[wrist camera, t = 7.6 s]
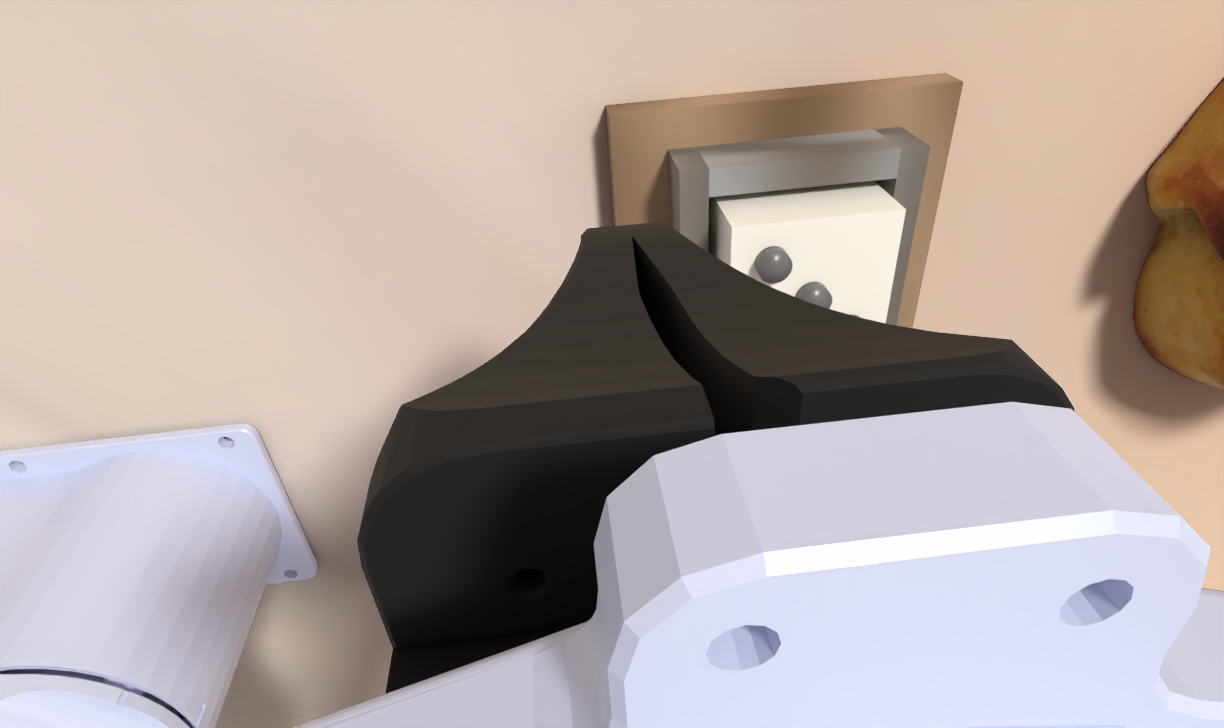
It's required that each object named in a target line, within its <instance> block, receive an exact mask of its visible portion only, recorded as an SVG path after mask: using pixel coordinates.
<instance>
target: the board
mask: <svg viewBox="0 0 1224 728" xmlns="http://www.w3.org/2000/svg"><path fill="white" fill-rule="evenodd" d="M962 85H963V81H961V80H959V79H957V78H955V77H952V76H950V75H948V74H946V73H944V74H934V75H923V76H913V77H902V78H891V79H881V80H870V81H860V82H849V83H839V84H828V85H817V86H807V87H796V88H786V89H775V90H764V91H754V92H743V93H733V94H722V95H712V96H701V97H690V98H680V99H669V100H659V101H648V102H638V103H627V104H616V105H606V121H607V136H608V151H609V166H610V181H611V196H612V211H613V226H621V225H632V224H643V223H653V222H663V223H665V224H667V225H669V226H670V227H672V228H673V229H675V230H676V231H678V232H679V233H680V234H682V235H683V236H685V237H686V238H688V239H689V240H691V241H692V242H694V243H695V244H696V245H698V246H699V247H701V248H702V249H704V250H705V251H707V252H708V227H709V197H718V196H728V195H737V194H747V193H757V192H767V191H777V190H787V189H796V188H806V187H816V186H826V185H836V184H845V183H855V182H865V181H875V182H876V183H877V184H878V185H879V186H880V187H881V188H883V189H884V190H885V191H886V192H887V193H888V194H889V195H891V196H892V197H893V198H894V199H895V200H896V201H897V202H898V203H900V204H901V205H902V206H903V207H904V208H905V209H906V213H905V219H904V224H903V230H902V235H901V241H900V246H899V252H898V257H897V263H896V268H895V274H894V279H893V285H892V290H891V296H890V301H889V307H888V312H887V318H886V324H891V325H897V326H902V327H908V328H912V327H913V322H914V317H915V312H916V308H917V303H918V298H919V293H920V288H921V283H922V279H923V274H924V269H925V264H926V259H927V254H928V250H929V245H930V240H931V235H932V230H933V225H934V221H935V216H936V211H937V206H938V201H939V196H940V192H941V187H942V182H943V177H944V172H945V167H946V163H947V158H948V153H949V148H950V143H951V139H952V134H953V129H954V124H955V119H956V114H957V110H958V105H959V100H960V95H961V90H962Z"/></svg>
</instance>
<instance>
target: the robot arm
mask: <svg viewBox="0 0 1224 728" xmlns="http://www.w3.org/2000/svg"><path fill="white" fill-rule="evenodd" d="M224 437H229V438H231V439H232V440H233V441H228V440H226V439H224ZM18 461H19V462H21V463H19V462H18ZM22 463H23V464H22ZM357 542H358V548H359V553H360V559H361V565H362V569H363V571H364V574H365V576H366V579H367V582H368V584H369V587H370V589H371V592H372V595H373V597H374V600H375V602H376V605H377V608H378V610H379V613H380V616H381V618H382V621H383V623H384V626H385V629H386V631H387V634H388V636H389V639H390V642H391V644H392V647H393V652H392V658H391V664H390V670H389V676H388V682H387V689H386V694H384V695H381V696H379V697H376V698H373V699H370V700H368V701H365V702H362V703H359V704H356V705H354V706H351V707H348V708H345V709H343V710H340V711H337V712H334V713H331V714H329V715H326V716H323V717H320V718H317V719H315V720H312V721H309V722H306V723H304V724H301V725H298V726H295V727H292V728H1224V591H1220V590H1213V589H1206V588H1202V584H1203V580H1204V576H1205V573H1206V569H1207V564H1208V559H1209V555H1210V550H1211V548H1210V547H1209V546H1208V545H1207V544H1206V543H1205V542H1204V541H1203V539H1202V538H1201V537H1200V536H1199V535H1198V534H1197V533H1196V532H1195V531H1194V530H1193V529H1192V528H1191V527H1190V526H1189V525H1188V524H1187V523H1186V521H1185V520H1184V519H1183V518H1182V517H1181V516H1180V515H1179V514H1178V513H1177V512H1176V511H1175V510H1174V509H1173V508H1172V507H1171V506H1170V505H1169V504H1168V503H1167V502H1166V501H1164V500H1163V499H1162V498H1161V497H1160V496H1159V495H1158V494H1157V493H1156V492H1155V491H1154V490H1153V489H1152V488H1151V487H1150V486H1149V485H1148V484H1147V483H1146V482H1145V481H1144V480H1143V479H1142V478H1141V477H1140V476H1139V475H1138V474H1137V473H1136V472H1135V471H1134V470H1133V469H1132V468H1131V467H1130V466H1129V465H1128V464H1127V463H1126V462H1125V461H1124V460H1123V459H1122V458H1121V457H1120V456H1119V455H1118V454H1117V453H1116V452H1115V451H1114V450H1113V449H1112V448H1111V447H1110V446H1108V445H1107V444H1106V443H1105V442H1104V441H1103V440H1102V439H1101V438H1100V437H1099V436H1098V435H1097V434H1096V433H1095V432H1094V431H1093V430H1092V429H1091V428H1090V427H1089V426H1088V425H1087V424H1086V423H1085V422H1084V421H1083V420H1082V419H1081V418H1080V417H1079V416H1078V415H1077V414H1076V413H1075V412H1074V407H1073V406H1072V404H1071V402H1070V401H1069V399H1068V397H1067V396H1066V394H1065V392H1064V391H1063V389H1062V388H1061V387H1060V386H1059V385H1058V384H1057V383H1056V382H1055V381H1054V380H1053V379H1052V378H1051V377H1050V376H1049V375H1048V374H1047V373H1046V372H1045V371H1044V370H1043V369H1042V368H1041V367H1039V366H1038V365H1037V364H1036V363H1035V362H1034V361H1033V360H1032V359H1031V358H1030V357H1029V356H1028V355H1027V354H1026V353H1025V352H1024V351H1023V350H1022V349H1021V348H1020V347H1019V346H1018V345H1017V344H1015V343H1014V342H1013V341H1012V340H1008V339H998V338H988V337H978V336H968V335H958V334H948V333H938V332H931V331H924V330H919V329H913V328H908V327H902V326H897V325H891V324H886V323H881V322H877V321H872V320H868V319H864V318H859V317H856V316H852V315H849V314H845V313H842V312H838V311H835V310H831V309H828V308H824V307H821V306H818V305H815V304H812V303H809V302H807V301H804V300H801V299H799V298H796V297H794V296H791V295H789V294H786V293H784V292H781V291H779V290H776V289H774V288H772V287H770V286H768V285H765V284H763V283H761V282H759V281H757V280H755V279H754V278H752V277H750V276H748V275H746V274H744V273H742V272H740V271H738V270H737V269H735V268H733V267H731V266H730V265H728V264H726V263H725V262H723V261H721V260H720V259H718V258H716V257H715V256H713V255H712V254H710V253H709V252H707V251H705V250H704V249H702V248H701V247H699V246H698V245H696V244H695V243H694V242H692V241H691V240H689V239H688V238H686V237H685V236H683V235H682V234H680V233H679V232H678V231H676V230H675V229H673V228H672V227H670V226H669V225H667V224H665V223H663V222H653V223H643V224H632V225H621V226H611V227H600V228H589V229H587V230H586V231H585V232H584V233H583V234H582V235H581V243H580V246H579V249H578V252H577V255H576V257H575V260H574V262H573V264H572V266H571V268H570V270H569V272H568V274H567V276H566V278H565V280H564V281H563V283H562V285H561V286H560V288H559V289H558V291H557V292H556V294H555V295H554V297H553V298H552V300H551V301H550V303H549V304H548V306H547V307H546V308H545V310H544V311H543V312H542V314H541V315H540V316H539V317H538V318H537V320H536V321H535V322H534V323H533V324H532V325H531V326H530V327H529V328H528V330H527V331H526V332H525V333H523V334H522V335H521V336H520V337H519V338H517V339H516V340H515V341H514V342H513V343H511V344H510V345H509V346H508V347H507V348H505V349H504V350H503V351H502V352H501V353H499V354H498V355H497V356H495V357H494V358H492V359H491V360H489V361H488V362H486V363H485V364H483V365H482V366H480V367H479V368H477V369H475V370H474V371H472V372H470V373H469V374H467V375H465V376H464V377H462V378H460V379H458V380H456V381H454V382H452V383H450V384H448V385H446V386H444V387H442V388H439V389H437V390H435V391H433V392H431V393H429V394H426V395H424V396H422V397H420V398H418V399H415V400H413V401H411V402H408V403H405V404H403V405H402V406H401V407H400V409H399V411H398V413H397V415H396V418H395V420H394V422H393V424H392V427H391V429H390V431H389V433H388V436H387V438H386V440H385V442H384V445H383V447H382V449H381V452H380V454H379V457H378V459H377V462H376V464H375V468H374V471H373V474H372V477H371V481H370V485H369V490H368V494H367V499H366V504H365V509H364V513H363V518H362V522H361V527H360V531H359V536H358V541H357ZM317 570H318V564H317V561H316V559H315V557H314V555H313V552H312V550H311V548H310V546H309V544H308V541H307V539H306V537H305V535H304V532H303V530H302V528H301V526H300V524H299V521H298V519H297V517H296V515H295V512H294V510H293V508H292V506H291V504H290V501H289V499H288V497H287V495H286V492H285V490H284V488H283V486H282V484H281V481H280V479H279V477H278V475H277V472H276V470H275V468H274V466H273V464H272V461H271V459H270V457H269V455H268V452H267V450H266V448H265V446H264V444H263V441H262V439H261V437H260V435H259V433H258V431H257V430H256V429H255V428H254V427H252V426H250V425H247V424H232V425H223V426H214V427H205V428H197V429H188V430H179V431H170V432H162V433H153V434H144V435H135V436H127V437H118V438H109V439H100V440H92V441H83V442H74V443H65V444H57V445H48V446H39V447H30V448H22V449H13V450H4V451H0V728H215V727H216V724H217V721H218V718H219V716H220V713H221V710H222V707H223V704H224V701H225V699H226V696H227V693H228V690H229V687H230V684H231V682H232V679H233V676H234V673H235V670H236V667H237V665H238V662H239V659H240V656H241V653H242V650H243V648H244V645H245V642H246V639H247V636H248V633H249V631H250V628H251V625H252V622H253V619H254V616H255V614H256V611H257V608H258V605H259V602H260V599H261V597H262V594H263V591H264V588H265V585H269V584H277V583H285V582H293V581H301V580H308V579H311V578H313V577H314V576H315V575H316V573H317Z"/></svg>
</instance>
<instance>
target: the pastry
mask: <svg viewBox="0 0 1224 728" xmlns="http://www.w3.org/2000/svg"><path fill="white" fill-rule="evenodd" d="M1146 188H1147V191H1148V199H1149V205H1150V207H1151V209H1152V212H1153V213H1154V214H1155V215H1157V217H1158V219H1159V231H1158V234H1157V236H1156V239H1155V241H1154V244H1153V247H1152V249H1151V251H1150V253H1149V255H1148V257H1147V260H1146V262H1145V264H1144V267H1143V269H1142V271H1141V274H1140V276H1139V279H1138V281H1137V287H1136V294H1135V302H1134V313H1133V317H1134V323H1135V329H1136V332H1137V334H1138V336H1139V338H1140V340H1141V342H1142V344H1143V345H1144V347H1145V348H1146V349H1147V351H1148V352H1149V353H1150V355H1151V356H1152V357H1153V358H1154V359H1156V360H1157V361H1158V362H1159V363H1160V364H1162V365H1164V366H1166V367H1167V368H1169V369H1171V370H1173V371H1175V372H1176V373H1178V374H1180V375H1182V376H1184V377H1186V378H1188V379H1191V380H1194V381H1197V382H1200V383H1203V384H1206V385H1209V386H1212V387H1215V388H1219V389H1222V390H1224V79H1223V80H1222V82H1221V83H1220V84H1219V85H1218V86H1217V87H1216V88H1215V90H1214V91H1213V92H1212V93H1211V94H1210V95H1209V97H1208V98H1207V99H1206V100H1205V101H1204V103H1203V104H1202V105H1201V106H1200V107H1199V108H1198V110H1197V111H1196V112H1195V114H1194V115H1193V116H1192V117H1191V119H1190V120H1189V121H1188V123H1187V124H1186V125H1185V127H1184V128H1183V129H1182V130H1181V132H1180V133H1179V134H1178V136H1177V137H1176V138H1175V139H1174V141H1173V142H1172V143H1171V144H1170V145H1169V146H1168V147H1167V149H1166V150H1165V151H1164V152H1163V153H1162V154H1161V155H1160V156H1159V157H1158V159H1157V160H1156V161H1155V162H1154V164H1153V165H1152V167H1151V168H1150V169H1149V170H1148V174H1147V178H1146Z"/></svg>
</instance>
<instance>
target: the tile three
mask: <svg viewBox="0 0 1224 728" xmlns="http://www.w3.org/2000/svg"><path fill="white" fill-rule="evenodd" d="M905 213H906V209H905V208H904V207H903V206H902V205H901V204H900V203H898V202H897V201H896V200H895V199H894V198H893V197H892V196H891V195H889V194H888V193H887V192H886V191H885V190H884V189H883V188H881V187H880V186H879V185H878V184H877V183H876V182H875V181H865V182H855V183H845V184H836V185H826V186H816V187H806V188H796V189H787V190H777V191H767V192H757V193H747V194H737V195H728V196H718V197H709V227H708V252H709V253H710V254H712V255H713V256H715V257H716V258H718V259H720V260H721V261H723V262H725V263H726V264H728V265H730V266H731V267H733V268H735V269H737V270H738V271H740V272H742V273H744V274H746V275H748V276H750V277H752V278H754V279H755V280H757V281H759V282H761V283H763V284H765V285H768V286H770V287H772V288H774V289H776V290H779V291H781V292H784V293H786V294H789V295H791V296H794V297H796V298H799V299H801V300H804V301H807V302H809V303H812V304H815V305H818V306H821V307H824V308H828V309H831V310H835V311H838V312H842V313H845V314H849V315H852V316H856V317H859V318H864V319H868V320H872V321H877V322H881V323H886V318H887V312H888V307H889V301H890V296H891V290H892V285H893V279H894V274H895V268H896V263H897V257H898V252H899V246H900V241H901V235H902V230H903V224H904V219H905Z"/></svg>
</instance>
